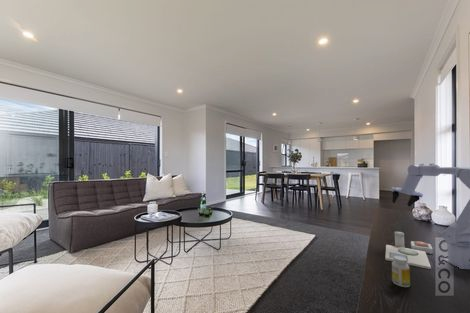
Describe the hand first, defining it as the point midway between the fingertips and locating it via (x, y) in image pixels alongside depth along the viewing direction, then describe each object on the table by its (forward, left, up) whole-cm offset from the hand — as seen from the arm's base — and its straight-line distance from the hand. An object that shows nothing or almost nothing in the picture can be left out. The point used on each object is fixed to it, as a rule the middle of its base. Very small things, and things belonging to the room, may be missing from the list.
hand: (400, 203), depth 124 cm
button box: (-11, -2, -22) cm, 25 cm away
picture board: (-21, +12, -22) cm, 32 cm away
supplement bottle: (-46, +29, -22) cm, 59 cm away
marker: (-8, +6, -22) cm, 24 cm away
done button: (-11, -2, -20) cm, 23 cm away
